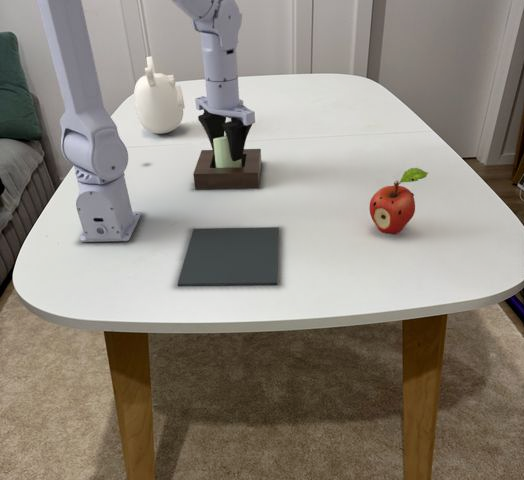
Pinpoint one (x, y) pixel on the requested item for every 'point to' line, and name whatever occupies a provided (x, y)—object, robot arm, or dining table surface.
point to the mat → (231, 257)
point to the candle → (224, 154)
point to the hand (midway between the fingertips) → (228, 156)
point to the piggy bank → (158, 101)
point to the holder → (228, 172)
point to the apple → (395, 204)
